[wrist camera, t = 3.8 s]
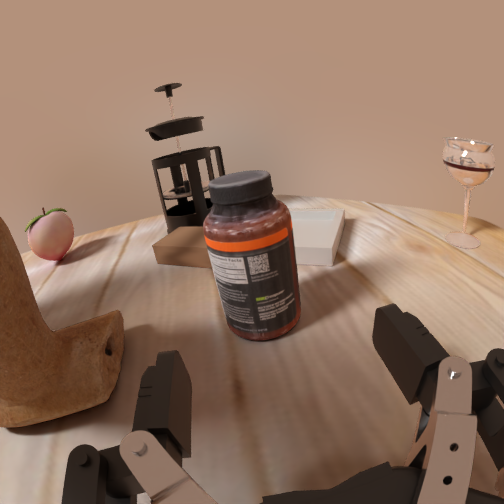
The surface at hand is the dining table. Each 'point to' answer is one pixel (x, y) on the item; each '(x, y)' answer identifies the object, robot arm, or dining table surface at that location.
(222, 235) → the supplement bottle
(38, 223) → the decorative fruit
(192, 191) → the french press
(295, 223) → the tray
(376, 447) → the dining table surface
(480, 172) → the wineglass
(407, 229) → the dining table surface
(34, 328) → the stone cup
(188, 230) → the brown block
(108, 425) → the dining table surface
